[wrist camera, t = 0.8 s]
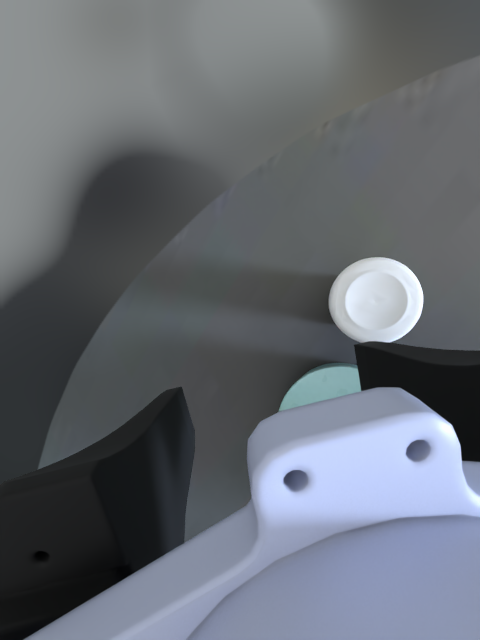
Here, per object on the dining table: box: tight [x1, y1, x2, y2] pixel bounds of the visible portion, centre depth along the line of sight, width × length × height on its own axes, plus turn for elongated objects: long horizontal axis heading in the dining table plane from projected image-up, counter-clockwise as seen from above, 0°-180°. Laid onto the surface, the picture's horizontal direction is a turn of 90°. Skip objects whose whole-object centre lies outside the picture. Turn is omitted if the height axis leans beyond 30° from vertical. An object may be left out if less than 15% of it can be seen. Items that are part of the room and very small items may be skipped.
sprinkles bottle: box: [328, 257, 423, 343], centre depth 23 cm, size 5×5×14 cm
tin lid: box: [279, 365, 361, 412], centre depth 25 cm, size 11×11×5 cm
